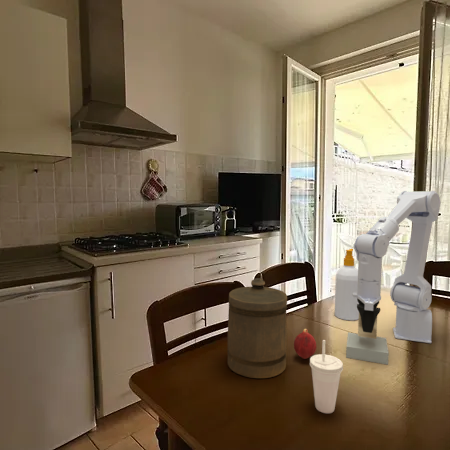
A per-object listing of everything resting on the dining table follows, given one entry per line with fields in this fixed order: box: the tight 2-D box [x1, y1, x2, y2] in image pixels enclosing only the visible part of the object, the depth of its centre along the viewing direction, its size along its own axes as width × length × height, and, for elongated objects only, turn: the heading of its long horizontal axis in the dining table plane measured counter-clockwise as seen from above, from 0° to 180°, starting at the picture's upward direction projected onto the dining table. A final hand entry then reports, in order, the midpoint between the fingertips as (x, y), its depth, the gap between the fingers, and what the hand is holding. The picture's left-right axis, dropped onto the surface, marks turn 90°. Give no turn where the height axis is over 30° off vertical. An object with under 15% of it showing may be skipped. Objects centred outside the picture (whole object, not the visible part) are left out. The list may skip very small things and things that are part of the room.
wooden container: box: [227, 277, 288, 379], centre depth 85 cm, size 15×15×22 cm
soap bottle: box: [334, 248, 359, 321], centre depth 119 cm, size 9×9×24 cm
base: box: [345, 332, 389, 365], centre depth 91 cm, size 10×10×3 cm
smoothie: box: [309, 339, 344, 414], centre depth 67 cm, size 6×6×14 cm
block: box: [357, 313, 378, 339], centre depth 91 cm, size 4×4×6 cm
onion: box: [293, 328, 318, 360], centre depth 88 cm, size 6×6×8 cm
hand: (367, 328), depth 91 cm, fingers closed on block, 4 cm apart
